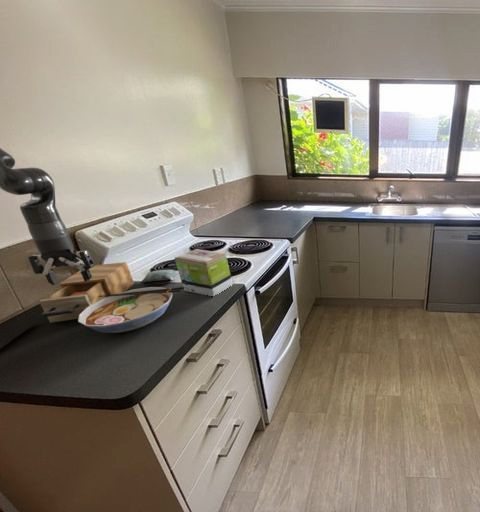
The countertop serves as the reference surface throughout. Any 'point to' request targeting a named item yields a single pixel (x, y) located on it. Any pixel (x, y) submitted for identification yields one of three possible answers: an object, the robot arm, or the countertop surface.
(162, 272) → the packaged food
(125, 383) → the countertop surface
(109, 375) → the countertop surface
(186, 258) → the tea box
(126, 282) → the cabinet
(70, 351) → the countertop surface
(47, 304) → the drawer
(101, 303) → the ramen bowl
